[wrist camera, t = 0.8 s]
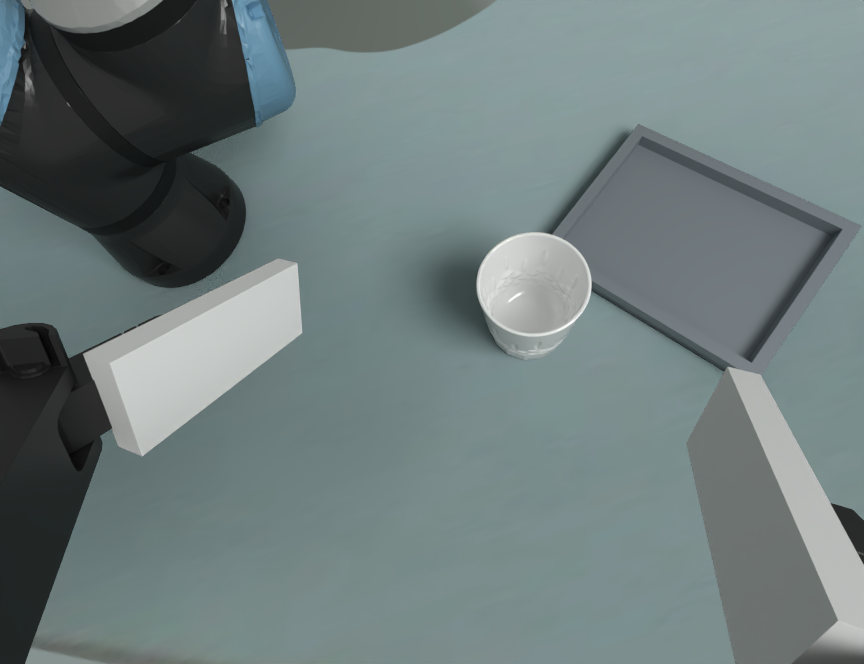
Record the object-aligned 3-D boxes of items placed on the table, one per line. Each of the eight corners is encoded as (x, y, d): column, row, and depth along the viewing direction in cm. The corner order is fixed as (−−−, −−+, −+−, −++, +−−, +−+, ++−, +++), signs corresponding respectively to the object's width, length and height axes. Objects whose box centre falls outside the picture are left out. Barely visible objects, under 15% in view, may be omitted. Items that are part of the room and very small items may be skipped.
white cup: (489, 281, 41) (483, 229, 32) (575, 287, 40) (594, 234, 30) (479, 361, 39) (469, 330, 30) (569, 371, 38) (588, 342, 28)
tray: (538, 258, 41) (539, 249, 40) (633, 137, 43) (638, 124, 41) (745, 384, 35) (757, 380, 33) (845, 236, 37) (862, 226, 35)
